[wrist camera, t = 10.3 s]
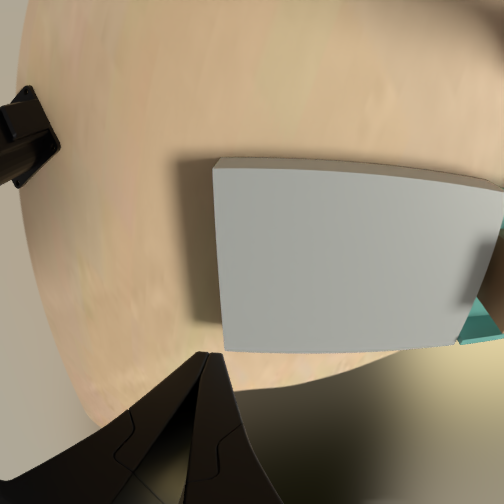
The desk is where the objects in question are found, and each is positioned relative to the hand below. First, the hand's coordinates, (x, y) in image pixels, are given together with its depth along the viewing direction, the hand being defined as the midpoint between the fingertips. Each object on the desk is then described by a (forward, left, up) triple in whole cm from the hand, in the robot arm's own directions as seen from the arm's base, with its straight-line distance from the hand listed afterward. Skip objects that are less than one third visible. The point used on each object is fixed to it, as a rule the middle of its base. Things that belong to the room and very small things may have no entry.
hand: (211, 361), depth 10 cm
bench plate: (+6, -7, -13) cm, 16 cm away
